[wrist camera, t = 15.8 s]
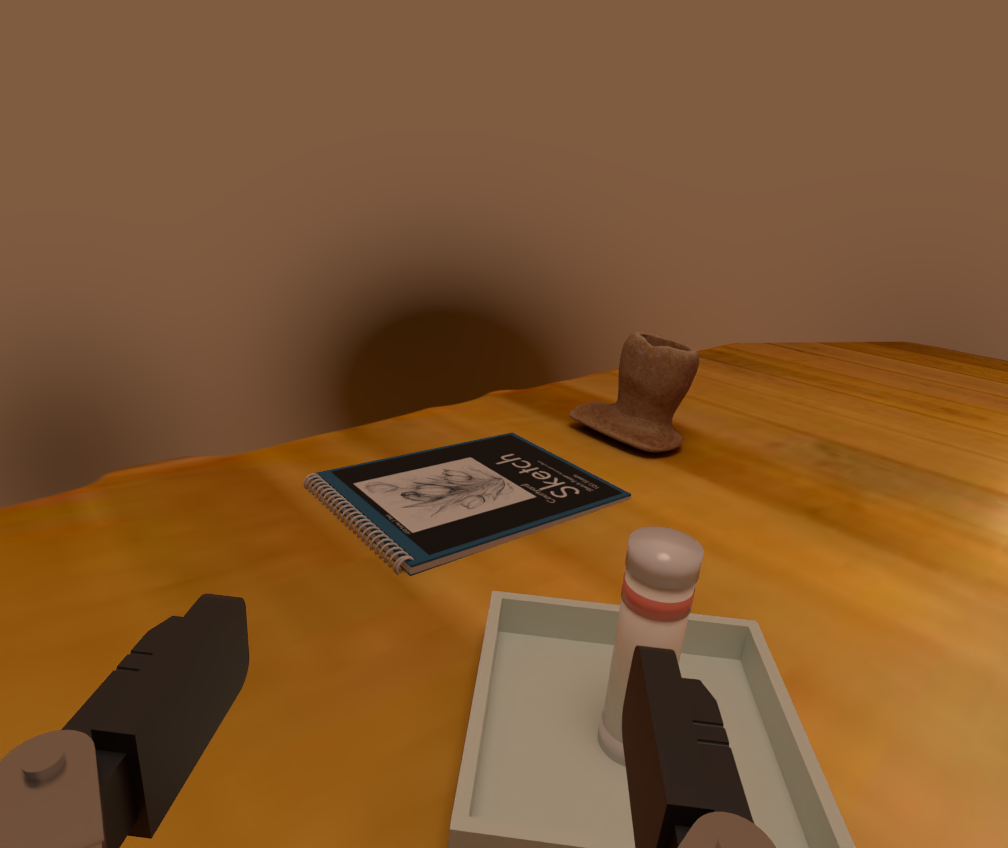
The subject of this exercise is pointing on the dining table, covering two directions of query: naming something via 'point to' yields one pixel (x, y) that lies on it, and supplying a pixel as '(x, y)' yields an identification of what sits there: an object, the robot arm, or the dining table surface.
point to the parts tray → (575, 722)
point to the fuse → (648, 614)
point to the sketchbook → (460, 498)
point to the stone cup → (645, 394)
